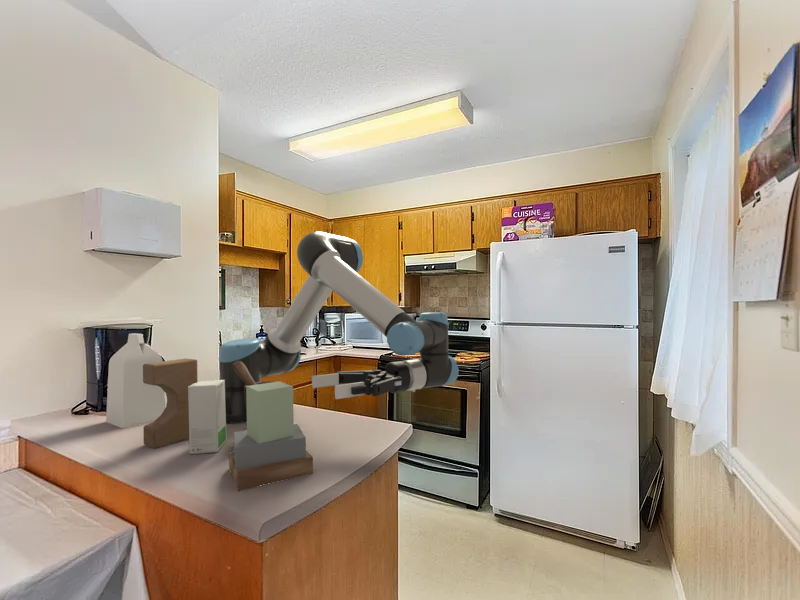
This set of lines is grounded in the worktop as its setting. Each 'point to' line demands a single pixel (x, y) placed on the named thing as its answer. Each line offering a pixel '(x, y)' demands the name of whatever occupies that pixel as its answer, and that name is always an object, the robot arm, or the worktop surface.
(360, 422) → the worktop surface
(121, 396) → the milk
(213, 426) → the skincare box
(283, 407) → the sage block
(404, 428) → the worktop surface
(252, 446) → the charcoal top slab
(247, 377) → the mortar and pestle
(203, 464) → the worktop surface
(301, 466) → the walnut base slab
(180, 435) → the decorative block
